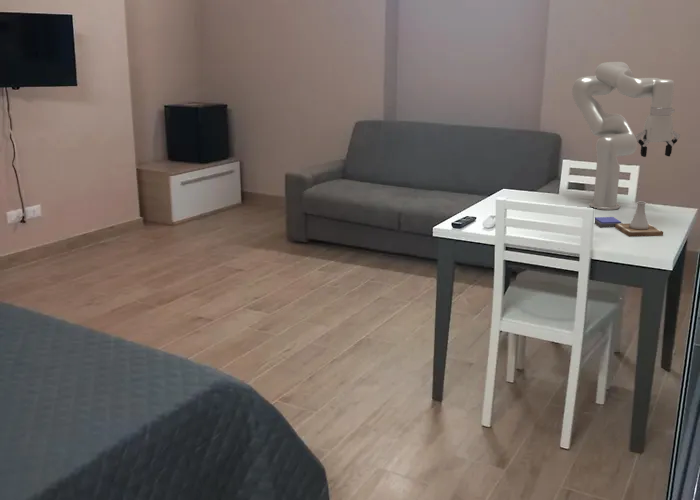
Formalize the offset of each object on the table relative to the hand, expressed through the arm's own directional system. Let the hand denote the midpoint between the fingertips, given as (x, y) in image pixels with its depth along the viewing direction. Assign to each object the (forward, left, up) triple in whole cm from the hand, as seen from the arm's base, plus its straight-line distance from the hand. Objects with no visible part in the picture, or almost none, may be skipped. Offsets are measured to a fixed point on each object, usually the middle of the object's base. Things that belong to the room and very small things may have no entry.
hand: (655, 156), depth 282 cm
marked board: (+16, -11, -26) cm, 32 cm away
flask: (+15, -11, -25) cm, 31 cm away
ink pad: (+4, -18, -26) cm, 32 cm away
